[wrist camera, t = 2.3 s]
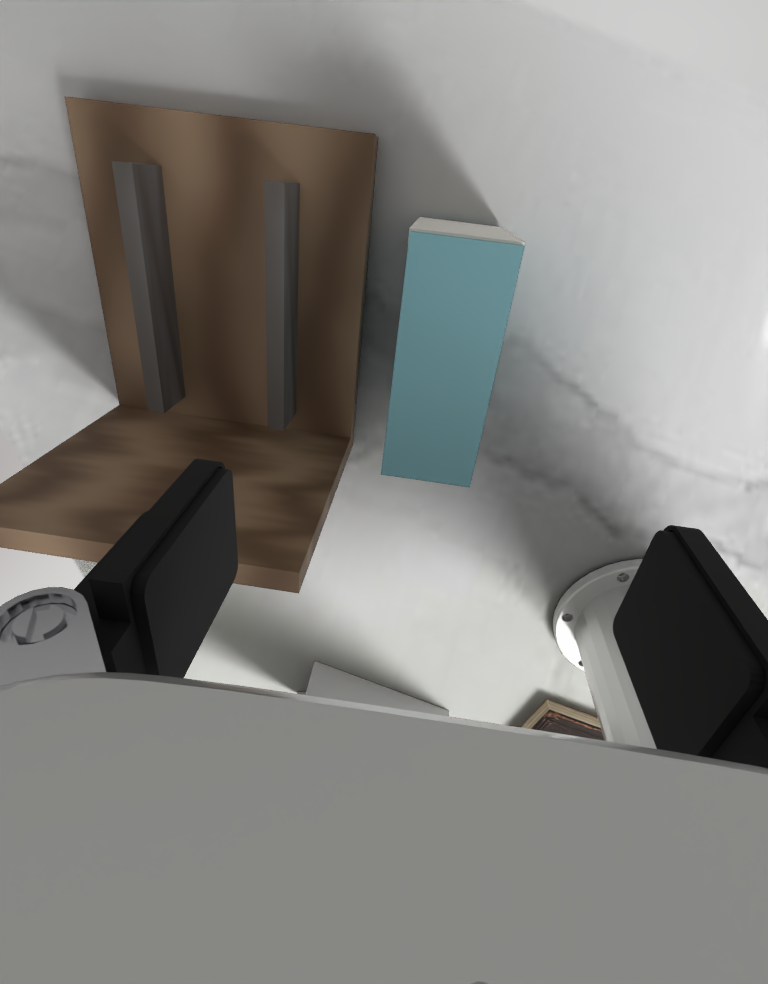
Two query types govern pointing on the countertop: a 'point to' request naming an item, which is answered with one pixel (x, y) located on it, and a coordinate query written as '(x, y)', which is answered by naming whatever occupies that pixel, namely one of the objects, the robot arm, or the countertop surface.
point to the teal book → (448, 347)
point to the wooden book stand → (213, 330)
